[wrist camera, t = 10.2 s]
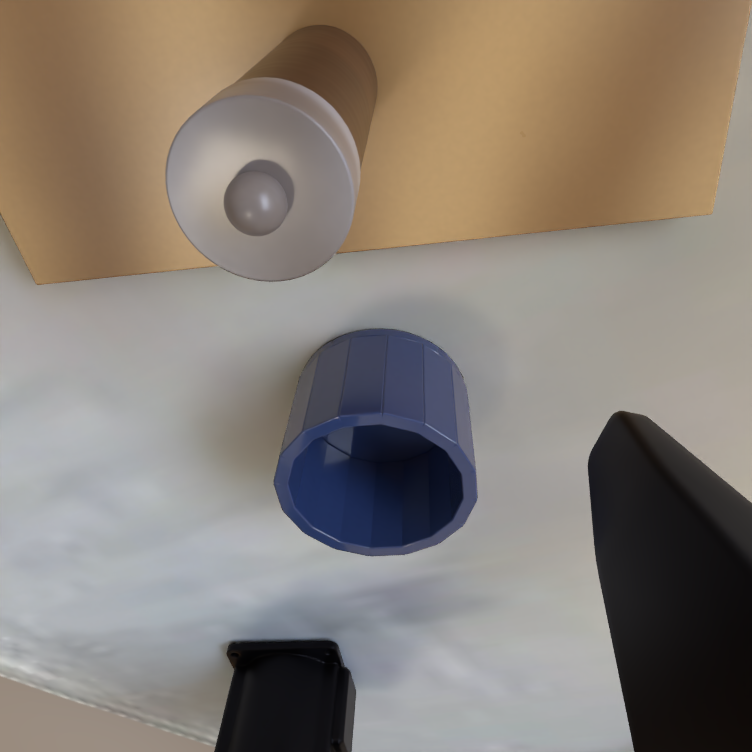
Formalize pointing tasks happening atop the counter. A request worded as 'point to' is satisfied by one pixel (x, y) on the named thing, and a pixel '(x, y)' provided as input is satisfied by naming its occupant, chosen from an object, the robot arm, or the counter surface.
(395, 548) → the holder cup
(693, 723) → the robot arm
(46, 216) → the bamboo board
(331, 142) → the pepper mill
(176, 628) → the counter surface
